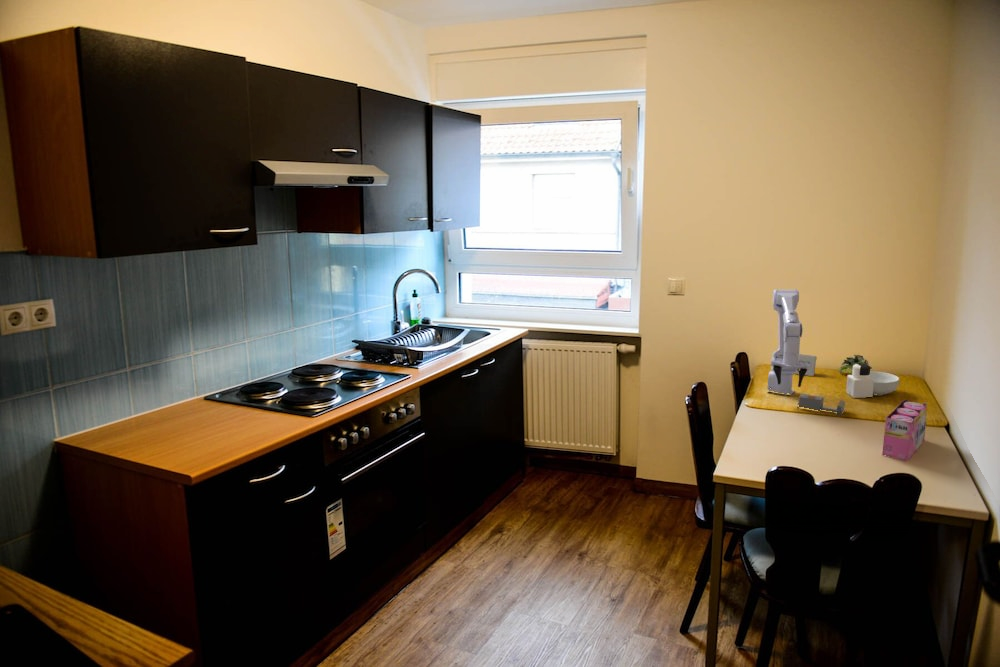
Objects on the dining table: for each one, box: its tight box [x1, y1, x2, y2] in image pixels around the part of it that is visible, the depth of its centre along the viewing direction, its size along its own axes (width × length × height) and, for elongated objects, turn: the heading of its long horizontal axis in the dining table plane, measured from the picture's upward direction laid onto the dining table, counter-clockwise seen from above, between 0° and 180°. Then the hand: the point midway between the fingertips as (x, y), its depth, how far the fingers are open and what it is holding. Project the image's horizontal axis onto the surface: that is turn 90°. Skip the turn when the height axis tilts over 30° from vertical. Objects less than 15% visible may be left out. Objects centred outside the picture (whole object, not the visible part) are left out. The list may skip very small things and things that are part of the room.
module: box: [798, 393, 825, 412], centre depth 283 cm, size 8×5×6 cm, turn 54°
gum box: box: [881, 399, 928, 461], centre depth 243 cm, size 24×8×14 cm, turn 138°
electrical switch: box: [793, 353, 818, 377], centre depth 327 cm, size 9×5×9 cm, turn 53°
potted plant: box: [837, 354, 872, 374], centre depth 323 cm, size 11×11×12 cm
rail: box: [797, 400, 846, 417], centre depth 281 cm, size 16×7×4 cm, turn 54°
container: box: [845, 364, 874, 399], centre depth 295 cm, size 8×8×13 cm
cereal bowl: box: [869, 370, 900, 396], centre depth 299 cm, size 17×17×7 cm
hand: (789, 385), depth 287 cm, fingers open, 7 cm apart
